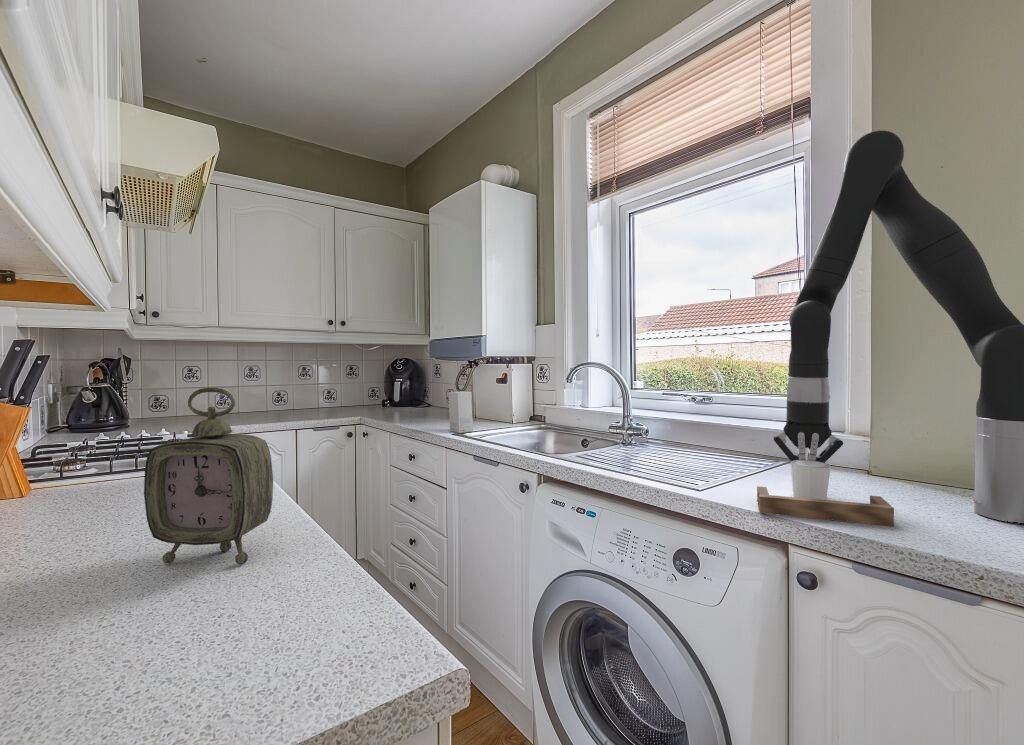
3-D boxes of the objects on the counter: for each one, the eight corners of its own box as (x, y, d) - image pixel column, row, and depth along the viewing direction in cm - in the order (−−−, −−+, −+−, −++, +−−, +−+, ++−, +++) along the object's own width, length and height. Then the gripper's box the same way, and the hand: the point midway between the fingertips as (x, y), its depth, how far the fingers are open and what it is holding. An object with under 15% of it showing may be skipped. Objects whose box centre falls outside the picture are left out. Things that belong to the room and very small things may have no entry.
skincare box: (473, 432, 192) (472, 391, 191) (457, 433, 188) (457, 392, 188) (463, 429, 199) (463, 390, 198) (448, 431, 196) (447, 391, 195)
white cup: (836, 504, 95) (837, 468, 95) (798, 502, 96) (799, 467, 96) (820, 493, 102) (821, 459, 102) (784, 492, 103) (785, 458, 103)
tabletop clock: (146, 569, 69) (140, 390, 69) (191, 544, 78) (186, 386, 78) (247, 570, 69) (242, 389, 68) (281, 545, 78) (276, 385, 77)
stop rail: (880, 512, 90) (880, 496, 90) (893, 526, 83) (894, 508, 83) (757, 501, 98) (757, 486, 97) (759, 512, 91) (759, 496, 90)
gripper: (841, 398, 103) (840, 481, 104) (770, 396, 109) (769, 475, 109) (849, 402, 96) (847, 490, 97) (772, 399, 102) (771, 483, 102)
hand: (806, 482), depth 103 cm, fingers closed
